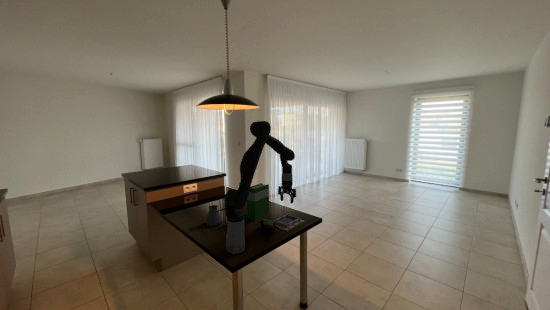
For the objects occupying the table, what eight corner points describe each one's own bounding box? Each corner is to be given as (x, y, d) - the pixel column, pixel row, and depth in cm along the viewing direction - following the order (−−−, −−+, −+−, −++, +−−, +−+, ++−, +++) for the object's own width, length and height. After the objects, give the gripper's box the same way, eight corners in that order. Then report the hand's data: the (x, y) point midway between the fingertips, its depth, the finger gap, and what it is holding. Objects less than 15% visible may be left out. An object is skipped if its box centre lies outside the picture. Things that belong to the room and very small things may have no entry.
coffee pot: (201, 225, 150) (200, 204, 149) (214, 219, 160) (214, 200, 158) (222, 233, 138) (222, 210, 137) (235, 226, 148) (235, 205, 146)
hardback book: (261, 212, 175) (261, 183, 173) (269, 214, 171) (268, 184, 169) (247, 219, 160) (246, 187, 158) (255, 221, 156) (254, 189, 154)
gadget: (269, 235, 135) (269, 227, 134) (259, 226, 146) (259, 218, 145) (277, 233, 139) (278, 225, 138) (267, 224, 150) (267, 216, 149)
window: (287, 231, 140) (287, 226, 140) (268, 224, 151) (268, 220, 151) (304, 222, 155) (304, 218, 155) (286, 216, 166) (286, 212, 166)
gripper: (275, 178, 152) (275, 201, 153) (292, 181, 143) (291, 205, 144) (282, 177, 158) (282, 198, 159) (298, 179, 148) (298, 202, 150)
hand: (286, 202), depth 152 cm, fingers open, 8 cm apart
